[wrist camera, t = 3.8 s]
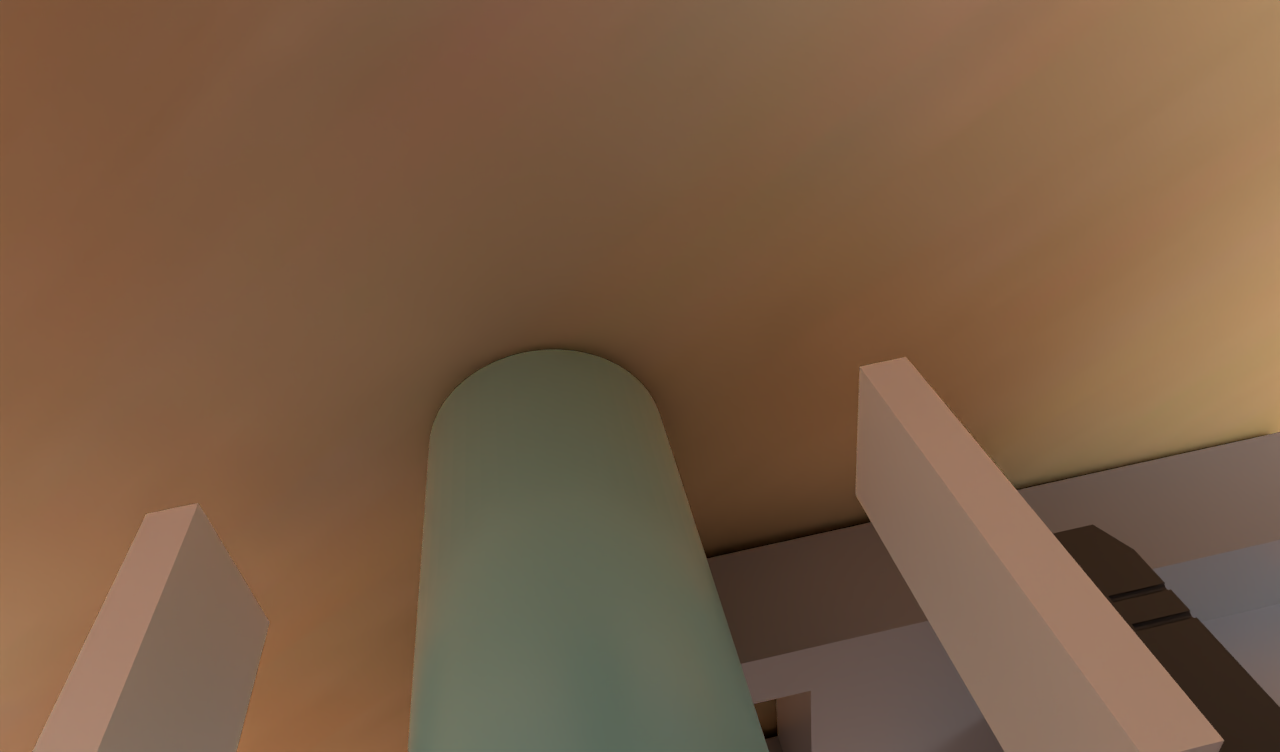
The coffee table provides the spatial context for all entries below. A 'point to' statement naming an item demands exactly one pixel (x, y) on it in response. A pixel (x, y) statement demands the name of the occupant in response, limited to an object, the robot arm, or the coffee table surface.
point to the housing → (910, 649)
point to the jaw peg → (566, 575)
